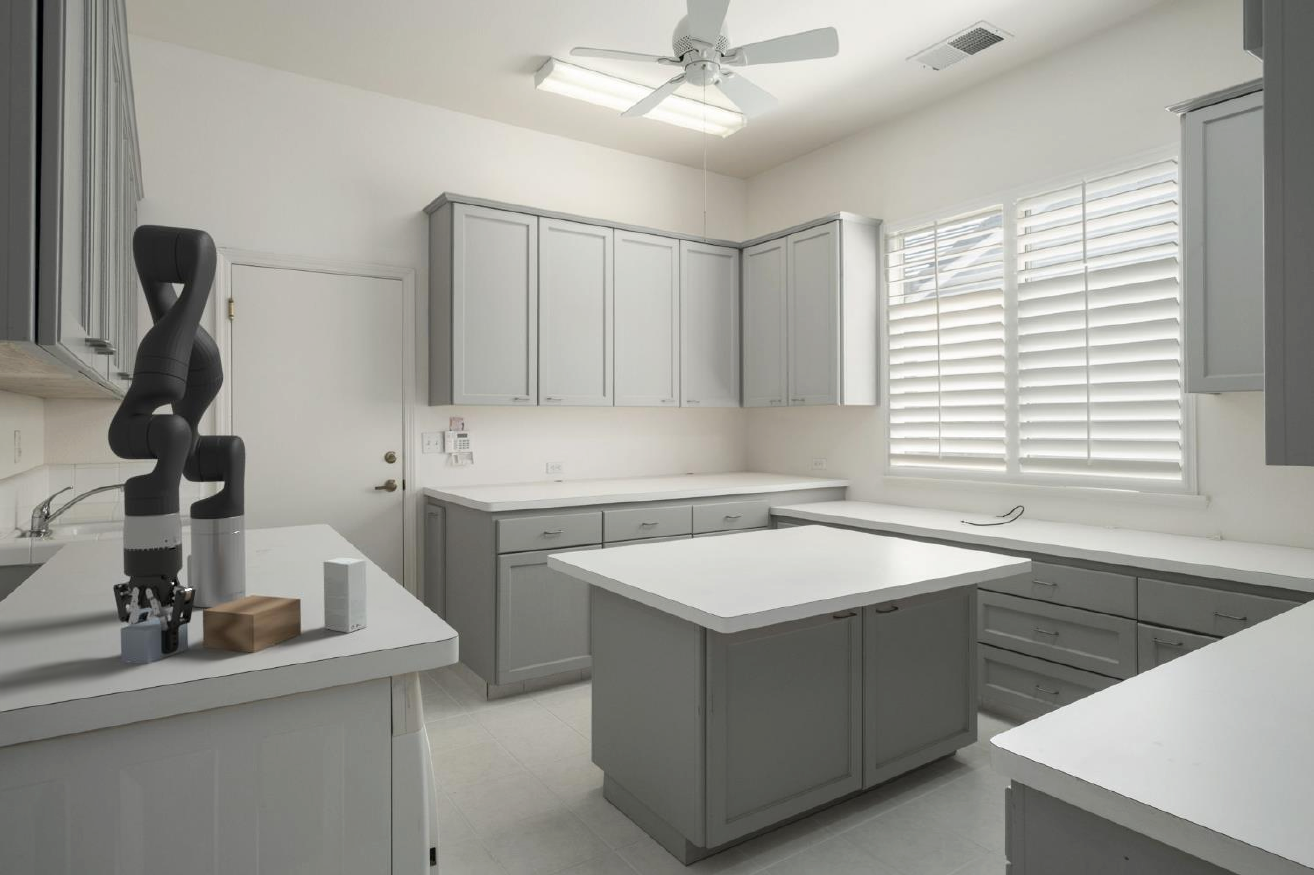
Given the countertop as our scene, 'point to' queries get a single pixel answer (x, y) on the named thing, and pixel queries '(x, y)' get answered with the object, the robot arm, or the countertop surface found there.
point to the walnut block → (251, 623)
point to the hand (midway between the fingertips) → (155, 650)
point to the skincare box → (345, 594)
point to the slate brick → (148, 641)
